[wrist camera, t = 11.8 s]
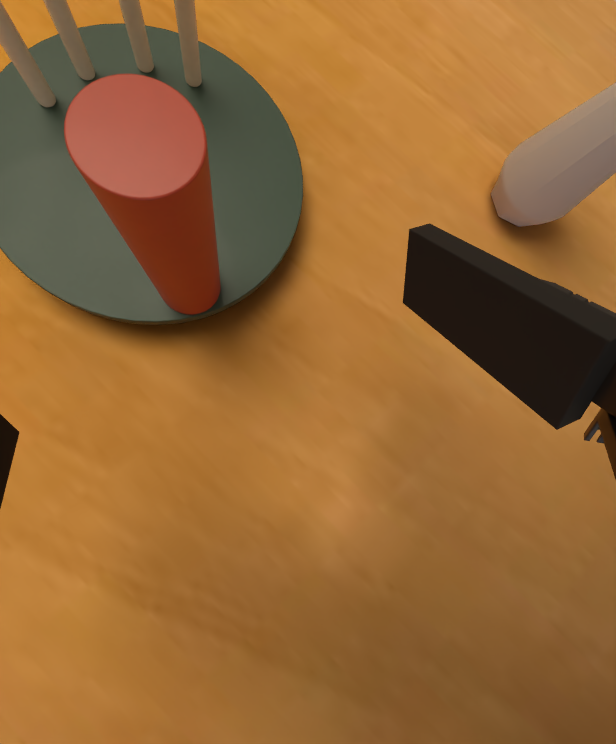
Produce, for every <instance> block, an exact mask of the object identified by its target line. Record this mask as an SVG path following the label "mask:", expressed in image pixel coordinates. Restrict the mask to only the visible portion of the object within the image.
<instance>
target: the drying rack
mask: <svg viewBox="0 0 616 744" xmlns="http://www.w3.org/2000/svg"><path fill="white" fill-rule="evenodd" d="M43 1H44V3H45V5H46V7H47V9H48V12H49V14H50V16H51V18H52V20H53V22H54V24H55V27H56V29H57V31H58V33H59V34H57V35H55V36H53V37H50V38H48V39H46V40H43V41H41V42H39V43H38V44H36V45H34V46H33V47H31V48H29V49H28V48H27V46H26V45H25V43H24V41H23V39H22V38H21V36H20V34H19V33H18V31H17V29H16V27H15V26H14V24H13V22H12V20H11V19H10V17H9V15H8V13H7V12H6V10H5V8H4V6H3V5H2V3H1V1H0V44H1V45H2V47H3V48H4V50H5V52H6V53H7V55H8V56H9V58H10V59H11V61H12V62H11V63H10V64H8V65H7V66H6V67H5V68H4V69H3V71H2V72H1V73H0V248H1V250H2V251H3V252H4V253H5V255H6V256H7V257H8V258H9V260H10V261H11V262H12V263H13V264H15V265H16V266H17V267H18V268H19V269H20V270H21V271H22V272H23V273H24V274H25V275H26V276H27V277H28V278H30V279H31V280H33V281H34V282H35V283H37V284H38V285H39V286H41V287H42V288H43V289H45V290H46V291H48V292H49V293H51V294H53V295H54V296H56V297H58V298H60V299H61V300H63V301H65V302H67V303H69V304H70V305H72V306H74V307H77V308H79V309H81V310H84V311H86V312H89V313H91V314H94V315H97V316H100V317H104V318H108V319H111V320H115V321H120V322H127V323H133V324H147V325H165V324H176V323H184V322H188V321H193V320H197V319H202V318H205V317H207V316H210V315H213V314H216V313H219V312H221V311H223V310H225V309H227V308H229V307H231V306H233V305H235V304H237V303H239V302H240V301H241V300H243V299H244V298H246V297H247V296H249V295H250V294H252V293H253V292H254V291H255V290H256V289H257V288H259V287H260V286H261V285H262V284H263V283H264V282H265V281H266V280H267V279H268V278H269V277H270V275H271V274H272V273H273V272H274V271H275V269H276V268H277V267H278V266H279V264H280V262H281V261H282V259H283V257H284V256H285V254H286V253H287V251H288V248H289V246H290V244H291V241H292V239H293V237H294V234H295V232H296V229H297V225H298V221H299V217H300V214H301V207H302V199H303V176H302V169H301V162H300V157H299V154H298V150H297V147H296V143H295V140H294V138H293V136H292V133H291V131H290V129H289V126H288V124H287V122H286V120H285V119H284V117H283V115H282V113H281V112H280V110H279V108H278V107H277V105H276V104H275V103H274V101H273V100H272V99H271V97H270V96H269V95H268V93H267V92H266V91H265V90H264V89H263V88H262V87H261V85H260V84H259V83H258V82H257V81H256V80H255V79H254V78H253V77H252V76H251V75H250V74H248V73H247V72H246V71H245V70H244V69H243V68H242V67H240V66H239V65H238V64H236V63H235V62H234V61H232V60H231V59H229V58H228V57H227V56H225V55H224V54H222V53H220V52H219V51H217V50H215V49H213V48H211V47H210V46H208V45H206V44H204V43H202V42H200V41H198V35H197V24H196V14H195V3H194V0H174V4H175V11H176V18H177V25H178V32H179V33H176V32H172V31H169V30H166V29H161V28H156V27H151V26H146V25H145V24H144V20H143V16H142V11H141V7H140V3H139V0H119V3H120V7H121V11H122V14H123V18H124V21H125V24H100V25H93V26H87V27H80V28H77V26H76V23H75V21H74V18H73V16H72V14H71V11H70V9H69V6H68V4H67V1H66V0H43Z"/></svg>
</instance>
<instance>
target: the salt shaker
mask: <svg viewBox="0 0 616 744" xmlns="http://www.w3.org/2000/svg"><path fill="white" fill-rule="evenodd" d="M614 173H616V83H614V84H613V85H611V86H609V87H608V88H606V89H605V90H603V91H602V92H600V93H599V94H597V95H595V96H594V97H592V98H591V99H589V100H588V101H586V102H584V103H583V104H581V105H580V106H578V107H577V108H575V109H573V110H572V111H570V112H569V113H567V114H566V115H564V116H563V117H561V118H559V119H558V120H556V121H555V122H553V123H552V124H550V125H548V126H547V127H545V128H544V129H542V130H541V131H539V132H537V133H536V134H534V135H533V136H531V137H530V138H528V139H526V140H525V141H523V142H522V143H520V144H519V145H518V146H517V147H516V148H515V149H514V150H513V151H512V152H511V153H510V154H509V155H508V157H507V158H506V159H505V161H504V164H503V166H502V169H501V172H500V175H499V177H498V180H497V182H496V184H495V186H494V188H493V190H492V192H491V196H492V199H493V202H494V205H495V208H496V211H497V214H498V217H500V218H502V219H504V220H506V221H508V222H510V223H512V224H514V225H516V226H518V227H520V226H529V225H538V224H543V223H547V222H550V221H554V220H557V219H559V218H562V217H563V216H564V215H565V214H567V213H568V212H569V211H570V210H571V209H573V208H574V207H575V206H576V205H577V204H579V203H580V202H581V201H582V200H583V199H585V198H586V197H587V196H588V195H589V194H591V193H592V192H593V191H594V190H595V189H596V188H598V187H599V186H600V185H601V184H602V183H604V182H605V181H606V180H607V179H608V178H610V177H611V176H612V175H613V174H614Z"/></svg>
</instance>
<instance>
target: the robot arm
mask: <svg viewBox="0 0 616 744" xmlns="http://www.w3.org/2000/svg"><path fill="white" fill-rule="evenodd" d="M403 303H404V304H405V305H406V306H407V307H409V308H410V309H411V310H412V311H413V312H415V313H416V314H417V315H418V316H419V317H421V318H422V319H423V320H424V321H426V322H427V323H428V324H429V325H430V326H432V327H433V328H434V329H435V330H436V331H438V332H439V333H440V334H441V335H443V336H444V337H445V338H446V339H447V340H449V341H450V342H451V343H452V344H453V345H455V346H456V347H457V348H458V349H460V350H461V351H462V352H463V353H464V354H466V355H467V356H468V357H469V358H470V359H472V360H473V361H474V362H475V363H476V364H478V365H479V366H480V367H481V368H483V369H484V370H485V371H486V372H487V373H489V374H490V375H491V376H492V377H493V378H495V379H496V380H497V381H498V382H500V383H501V384H502V385H503V386H504V387H506V388H507V389H508V390H509V391H510V392H512V393H513V394H514V395H515V396H517V397H518V398H519V399H520V400H521V401H523V402H524V403H525V404H526V405H527V406H529V407H530V408H531V409H532V410H534V411H535V412H536V413H537V414H538V415H540V416H541V417H542V418H543V419H544V420H546V421H547V422H548V423H549V424H550V425H552V426H553V427H554V428H555V429H559V428H562V427H564V426H566V425H568V424H570V423H572V422H574V421H576V420H578V419H580V418H581V417H582V415H583V414H584V412H585V411H586V409H587V408H588V406H589V404H590V403H591V401H592V402H594V403H595V404H597V405H598V406H599V407H601V410H600V411H599V413H598V414H597V415H596V417H595V418H594V420H593V421H592V423H591V424H590V426H589V427H588V429H587V430H586V431H585V433H584V440H586V441H590V439H591V438H592V437H593V435H594V434H595V432H596V431H597V430H599V429H600V431H601V435H600V436H599V437H598V439H597V442H599V443H604V444H605V447H606V450H607V453H608V456H609V460H610V463H611V466H612V469H613V472H614V476H615V479H616V313H614V312H612V311H610V310H608V309H606V308H604V307H602V306H600V305H598V304H596V303H594V302H588V299H586V298H584V297H582V296H580V295H578V294H575V295H574V294H573V292H572V291H570V290H568V289H566V288H564V287H562V286H560V285H558V284H556V283H553V282H549V281H545V280H541V279H538V278H536V277H534V276H532V275H530V274H528V273H526V272H524V271H522V270H520V269H518V268H516V267H514V266H512V265H510V264H508V263H506V262H505V261H503V260H501V259H499V258H497V257H495V256H493V255H491V254H489V253H487V252H485V251H483V250H481V249H479V248H477V247H475V246H473V245H471V244H469V243H467V242H465V241H463V240H461V239H459V238H457V237H455V236H453V235H451V234H449V233H447V232H445V231H443V230H441V229H439V228H437V227H435V226H433V225H431V224H426V225H423V226H419V227H416V228H412V229H409V240H408V251H407V262H406V273H405V284H404V296H403ZM18 435H19V431H18V430H17V429H15V428H14V427H13V426H12V425H11V424H10V423H9V422H8V421H7V420H6V419H5V418H4V417H3V416H2V415H1V414H0V508H1V504H2V500H3V496H4V492H5V488H6V484H7V480H8V476H9V472H10V468H11V464H12V460H13V456H14V452H15V448H16V444H17V439H18Z"/></svg>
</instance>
